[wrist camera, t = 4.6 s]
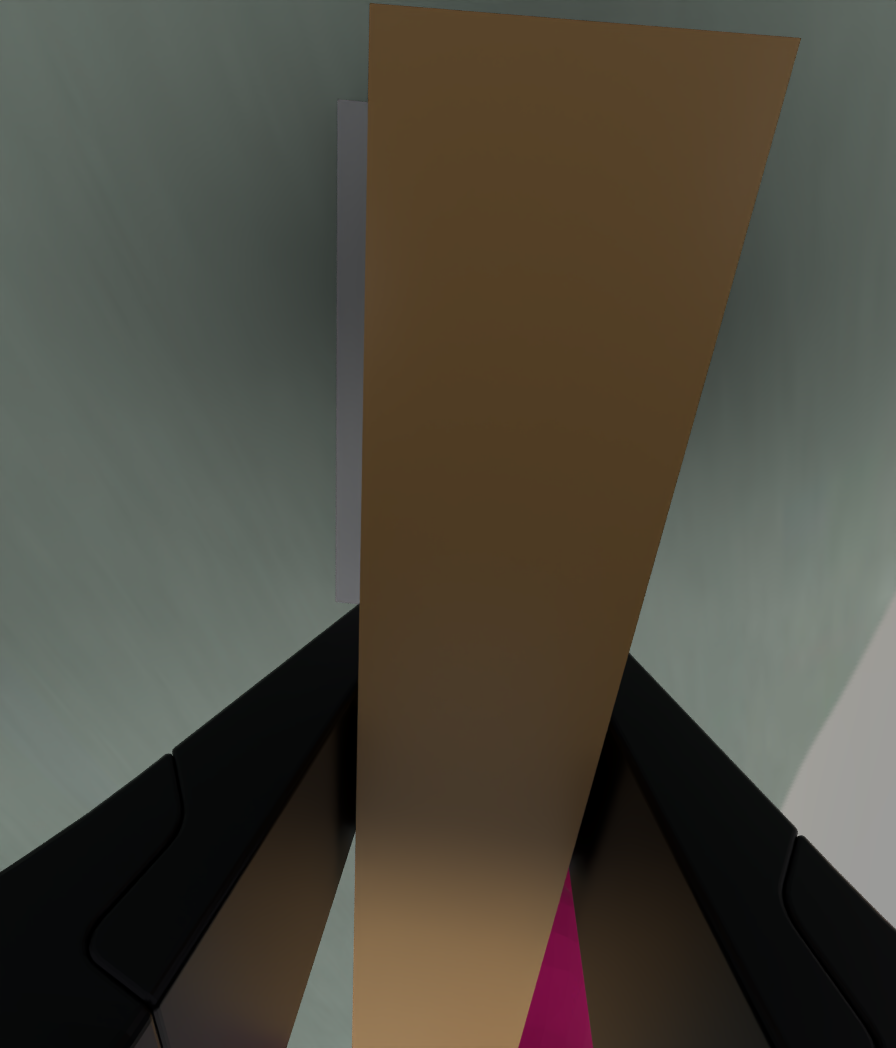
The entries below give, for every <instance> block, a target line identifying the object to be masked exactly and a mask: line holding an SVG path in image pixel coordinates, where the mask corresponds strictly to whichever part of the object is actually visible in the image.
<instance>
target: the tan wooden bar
mask: <svg viewBox="0 0 896 1048" xmlns="http://www.w3.org/2000/svg"><path fill="white" fill-rule="evenodd" d="M800 40H801V38H793V37H781V36H768V35H756V34H744V33H731V32H719V31H707V30H695V29H682V28H670V27H658V26H645V25H633V24H621V23H608V22H596V21H584V20H571V19H559V18H547V17H534V16H522V15H510V14H497V13H485V12H473V11H460V10H448V9H436V8H423V7H411V6H399V5H386V4H374V3H370V13H369V73H368V132H367V192H366V252H365V311H364V371H363V430H362V490H361V550H360V609H359V669H358V729H357V788H356V848H355V908H354V967H353V1027H352V1048H518V1047H519V1043H520V1039H521V1036H522V1032H523V1029H524V1025H525V1022H526V1018H527V1014H528V1011H529V1007H530V1004H531V1000H532V997H533V993H534V989H535V986H536V982H537V979H538V975H539V972H540V968H541V964H542V961H543V957H544V954H545V950H546V947H547V943H548V939H549V936H550V932H551V929H552V925H553V922H554V918H555V914H556V911H557V907H558V904H559V900H560V897H561V893H562V889H563V886H564V882H565V879H566V875H567V872H568V868H569V865H570V861H571V857H572V854H573V850H574V847H575V843H576V840H577V836H578V832H579V829H580V825H581V822H582V818H583V815H584V811H585V807H586V804H587V800H588V797H589V793H590V790H591V786H592V782H593V779H594V775H595V772H596V768H597V765H598V761H599V757H600V754H601V750H602V747H603V743H604V740H605V736H606V732H607V729H608V725H609V722H610V718H611V715H612V711H613V707H614V704H615V700H616V697H617V693H618V690H619V686H620V682H621V679H622V675H623V672H624V668H625V665H626V661H627V657H628V654H629V650H630V647H631V643H632V640H633V636H634V633H635V629H636V625H637V622H638V618H639V615H640V611H641V608H642V604H643V600H644V597H645V593H646V590H647V586H648V583H649V579H650V575H651V572H652V568H653V565H654V561H655V558H656V554H657V550H658V547H659V543H660V540H661V536H662V533H663V529H664V525H665V522H666V518H667V515H668V511H669V508H670V504H671V500H672V497H673V493H674V490H675V486H676V483H677V479H678V475H679V472H680V468H681V465H682V461H683V458H684V454H685V450H686V447H687V443H688V440H689V436H690V433H691V429H692V425H693V422H694V418H695V415H696V411H697V408H698V404H699V401H700V397H701V393H702V390H703V386H704V383H705V379H706V376H707V372H708V368H709V365H710V361H711V358H712V354H713V351H714V347H715V343H716V340H717V336H718V333H719V329H720V326H721V322H722V318H723V315H724V311H725V308H726V304H727V301H728V297H729V293H730V290H731V286H732V283H733V279H734V276H735V272H736V268H737V265H738V261H739V258H740V254H741V251H742V247H743V243H744V240H745V236H746V233H747V229H748V226H749V222H750V218H751V215H752V211H753V208H754V204H755V201H756V197H757V193H758V190H759V186H760V183H761V179H762V176H763V172H764V168H765V165H766V161H767V158H768V154H769V151H770V147H771V144H772V140H773V136H774V133H775V129H776V126H777V122H778V119H779V115H780V111H781V108H782V104H783V101H784V97H785V94H786V90H787V86H788V83H789V79H790V76H791V72H792V69H793V65H794V61H795V58H796V54H797V51H798V47H799V44H800Z"/></svg>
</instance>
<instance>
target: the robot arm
mask: <svg viewBox="0 0 896 1048" xmlns="http://www.w3.org/2000/svg"><path fill="white" fill-rule="evenodd" d="M359 609H360V603H359V604H358V605H357V606H355V607H354V608H353V609H352V610H350V611H349V612H348V613H346V614H345V615H344V616H343V617H341V618H340V619H339V620H337V621H336V622H335V623H334V624H332V625H331V626H330V627H329V628H327V629H326V630H325V631H323V632H322V633H321V634H320V635H318V636H317V637H316V638H314V639H313V640H312V641H311V642H309V643H308V644H307V645H305V646H304V647H303V648H302V649H300V650H299V651H298V652H296V653H295V654H294V655H293V656H291V657H290V658H289V659H287V660H286V661H285V662H284V663H282V664H281V665H280V666H279V667H277V668H276V669H275V670H273V671H272V672H271V673H270V674H268V675H267V676H266V677H264V678H263V679H262V680H261V681H259V682H258V683H257V684H255V685H254V686H253V687H252V688H250V689H249V690H248V691H246V692H245V693H244V694H243V695H241V696H240V697H239V698H237V699H236V700H235V701H234V702H232V703H231V704H230V705H229V706H227V707H226V708H225V709H223V710H222V711H221V712H220V713H218V714H217V715H216V716H214V717H213V718H212V719H211V720H209V721H208V722H207V723H205V724H204V725H203V726H202V727H200V728H199V729H198V730H196V731H195V732H194V733H193V734H191V735H190V736H189V737H188V738H186V739H185V740H184V741H182V742H181V743H180V744H179V745H177V746H176V747H175V748H174V749H173V751H172V754H173V756H172V754H165V755H164V756H163V757H161V758H160V759H159V760H158V761H156V762H155V763H154V764H152V765H151V766H150V767H149V768H147V769H146V770H145V771H143V772H142V773H141V774H140V775H138V776H137V777H136V778H134V779H133V780H132V781H130V782H129V783H128V784H126V785H125V786H124V787H122V788H121V789H120V790H118V791H117V792H116V793H114V794H113V795H111V796H110V797H109V798H107V799H106V800H105V801H103V802H102V803H101V804H99V805H98V806H97V807H95V808H94V809H93V810H91V811H90V812H89V813H87V814H86V815H84V816H83V817H81V818H80V819H78V820H77V821H75V822H74V823H72V824H71V825H70V826H68V827H67V828H65V829H64V830H62V831H61V832H59V833H58V834H56V835H55V836H53V837H52V838H50V839H49V840H48V841H46V842H45V843H43V844H42V845H40V846H39V847H37V848H36V849H34V850H33V851H31V852H30V853H28V854H27V855H25V856H24V857H22V858H21V859H19V860H18V861H16V862H15V863H13V864H12V865H10V866H9V867H7V868H6V869H4V870H3V871H1V872H0V1048H286V1047H287V1044H288V1041H289V1038H290V1035H291V1032H292V1029H293V1025H294V1022H295V1019H296V1016H297V1013H298V1010H299V1007H300V1003H301V1000H302V997H303V994H304V991H305V988H306V985H307V981H308V978H309V975H310V972H311V969H312V966H313V963H314V960H315V956H316V953H317V950H318V947H319V944H320V941H321V938H322V934H323V931H324V928H325V925H326V922H327V919H328V916H329V912H330V909H331V906H332V903H333V900H334V897H335V894H336V890H337V887H338V884H339V881H340V878H341V875H342V872H343V868H344V865H345V862H346V859H347V856H348V853H349V850H350V847H351V843H352V840H353V837H354V834H355V831H356V788H357V729H358V669H359ZM797 834H798V831H797V829H796V827H795V826H794V825H793V824H792V823H791V822H790V821H789V820H788V819H787V818H786V817H785V816H784V815H783V814H782V813H781V812H780V811H779V809H778V808H777V807H776V806H775V805H774V804H773V803H772V802H771V801H770V800H769V799H768V798H767V797H766V796H765V795H764V794H763V793H762V792H761V791H760V790H759V789H758V787H757V786H756V785H755V784H754V783H753V782H752V781H751V780H750V779H749V778H748V777H747V776H746V775H745V774H744V773H743V772H742V771H741V770H740V769H739V768H738V766H737V765H736V764H735V763H734V762H733V761H732V760H731V759H730V758H729V757H728V756H727V755H726V754H725V753H724V752H723V751H722V750H721V749H720V748H719V747H718V745H717V744H716V743H715V742H714V741H713V740H712V739H711V738H710V737H709V736H708V735H707V734H706V733H705V732H704V731H703V730H702V729H701V728H700V727H699V726H698V725H697V723H696V722H695V721H694V720H693V719H692V718H691V717H690V716H689V715H688V714H687V713H686V712H685V711H684V710H683V709H682V708H681V707H680V706H679V705H678V704H677V702H676V701H675V700H674V699H673V698H672V697H671V696H670V695H669V694H668V693H667V692H666V691H665V690H664V689H663V688H662V687H661V686H660V685H659V684H658V683H657V681H656V680H655V679H654V678H653V677H652V676H651V675H650V674H649V673H648V672H647V671H646V670H645V669H644V668H643V667H642V666H641V665H640V664H639V663H638V662H637V661H636V659H635V658H634V657H633V656H632V655H631V654H630V653H629V654H628V657H627V661H626V665H625V668H624V672H623V675H622V679H621V682H620V686H619V690H618V693H617V697H616V700H615V704H614V707H613V711H612V715H611V718H610V722H609V725H608V729H607V732H606V736H605V740H604V743H603V747H602V750H601V754H600V757H599V761H598V765H597V768H596V772H595V775H594V779H593V782H592V786H591V790H590V793H589V797H588V800H587V804H586V807H585V811H584V815H583V818H582V822H581V825H580V829H579V832H578V836H577V840H576V843H575V847H574V850H573V854H572V857H571V861H570V865H569V873H570V880H571V888H572V895H573V902H574V910H575V917H576V925H577V932H578V939H579V947H580V954H581V962H582V969H583V976H584V984H585V991H586V999H587V1006H588V1013H589V1021H590V1028H591V1035H592V1043H593V1048H896V929H895V928H894V927H893V926H892V925H891V924H890V923H889V922H888V921H887V920H886V919H885V918H884V917H883V916H882V915H880V913H879V912H878V911H877V910H876V909H875V908H873V906H872V905H871V904H870V903H869V902H868V901H867V900H866V899H865V898H864V897H863V896H862V895H861V894H860V893H859V892H858V891H857V890H856V889H855V888H854V887H853V886H852V885H851V884H850V883H849V882H848V881H847V880H846V879H845V878H844V877H843V876H842V875H841V874H840V873H839V872H838V871H837V870H836V869H835V868H834V867H833V866H832V865H831V864H830V863H829V862H828V861H827V860H826V858H825V857H824V856H822V854H821V853H820V852H819V851H818V850H817V849H816V848H815V847H814V846H813V845H812V844H811V843H810V842H809V841H808V840H807V839H806V838H805V837H804V836H802V835H801V836H797Z"/></svg>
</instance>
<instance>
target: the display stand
mask: <svg viewBox="0 0 896 1048" xmlns="http://www.w3.org/2000/svg"><path fill="white" fill-rule="evenodd" d="M367 132H368V102H363V101H352V100H342V99H337V349H336V602H342V603H350V604H359V603H360V550H361V490H362V430H363V371H364V311H365V252H366V192H367Z"/></svg>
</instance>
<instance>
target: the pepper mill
mask: <svg viewBox="0 0 896 1048" xmlns="http://www.w3.org/2000/svg"><path fill="white" fill-rule="evenodd" d="M518 1048H593V1043H592V1035H591V1028H590V1021H589V1013H588V1006H587V999H586V991H585V984H584V976H583V969H582V962H581V954H580V947H579V939H578V932H577V925H576V917H575V910H574V902H573V895H572V888H571V880H570V873H569V868H568V872H567V875H566V879H565V882H564V886H563V889H562V893H561V897H560V900H559V904H558V907H557V911H556V914H555V918H554V922H553V925H552V929H551V932H550V936H549V939H548V943H547V947H546V950H545V954H544V957H543V961H542V964H541V968H540V972H539V975H538V979H537V982H536V986H535V989H534V993H533V997H532V1000H531V1004H530V1007H529V1011H528V1014H527V1018H526V1022H525V1025H524V1029H523V1032H522V1036H521V1039H520V1043H519V1047H518Z"/></svg>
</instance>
